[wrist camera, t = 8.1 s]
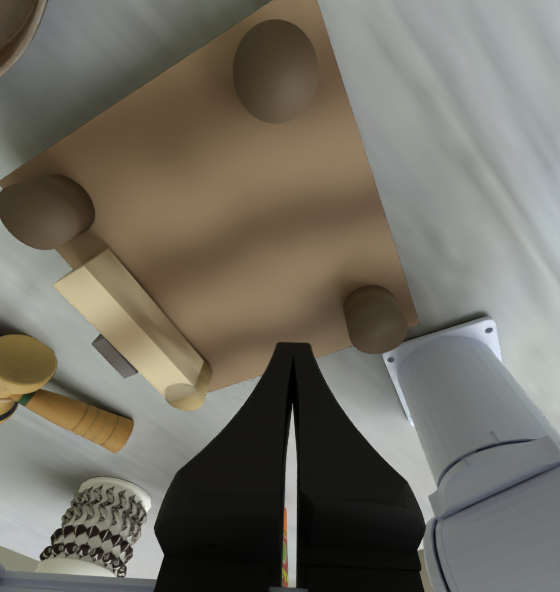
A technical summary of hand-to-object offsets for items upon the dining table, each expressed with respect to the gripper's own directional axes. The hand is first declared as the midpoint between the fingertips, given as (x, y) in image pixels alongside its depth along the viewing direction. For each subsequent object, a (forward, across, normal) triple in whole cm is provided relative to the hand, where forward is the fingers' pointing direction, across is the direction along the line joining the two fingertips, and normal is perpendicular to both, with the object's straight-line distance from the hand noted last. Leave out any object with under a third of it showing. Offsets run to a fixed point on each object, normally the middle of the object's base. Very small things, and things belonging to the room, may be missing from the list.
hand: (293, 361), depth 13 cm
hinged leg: (+7, +9, +3) cm, 12 cm away
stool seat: (+9, +4, -2) cm, 10 cm away
